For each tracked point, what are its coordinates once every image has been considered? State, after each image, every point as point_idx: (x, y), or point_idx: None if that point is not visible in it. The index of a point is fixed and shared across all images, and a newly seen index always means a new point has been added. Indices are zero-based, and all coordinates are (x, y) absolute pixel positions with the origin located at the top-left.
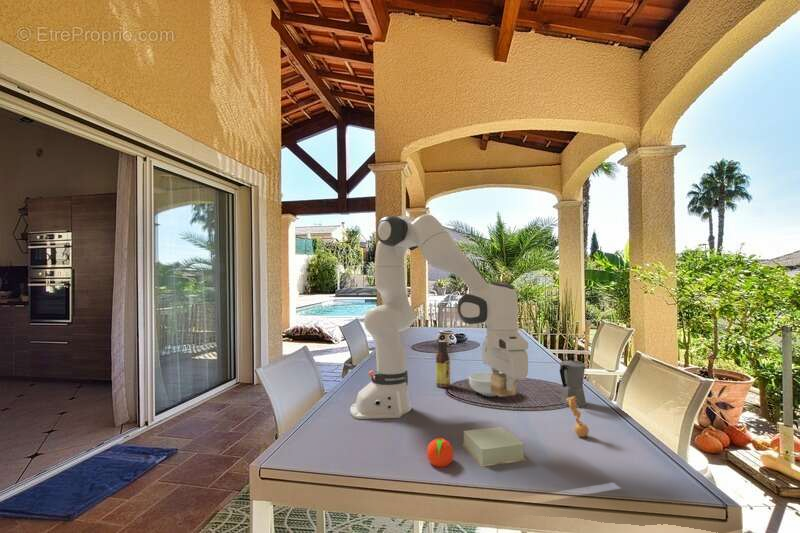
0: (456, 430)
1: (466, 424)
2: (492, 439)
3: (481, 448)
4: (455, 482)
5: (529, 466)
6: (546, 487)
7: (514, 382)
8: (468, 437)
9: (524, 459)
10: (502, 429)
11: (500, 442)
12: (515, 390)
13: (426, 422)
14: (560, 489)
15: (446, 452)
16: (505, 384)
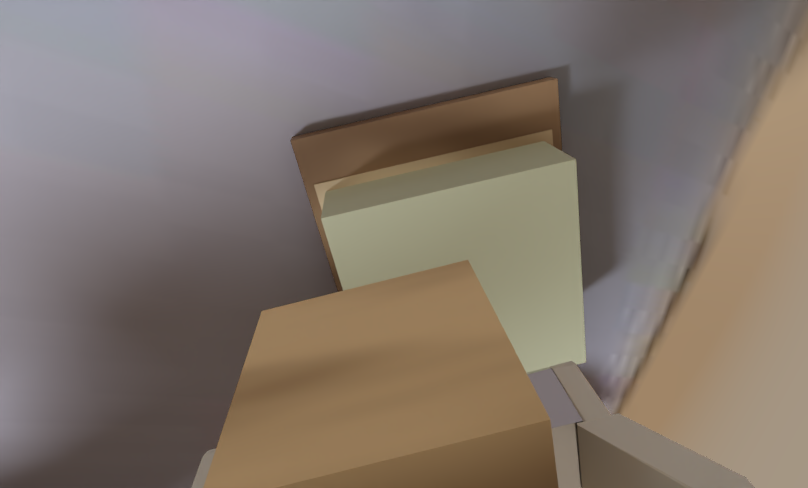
0: (174, 364)
1: (79, 313)
2: (493, 303)
3: (575, 362)
4: (609, 398)
5: (563, 120)
6: (731, 110)
7: (521, 369)
8: None
9: (544, 139)
10: (367, 225)
11: (534, 273)
12: (480, 286)
13: (95, 471)
14: (763, 55)
15: None
16: (562, 479)
